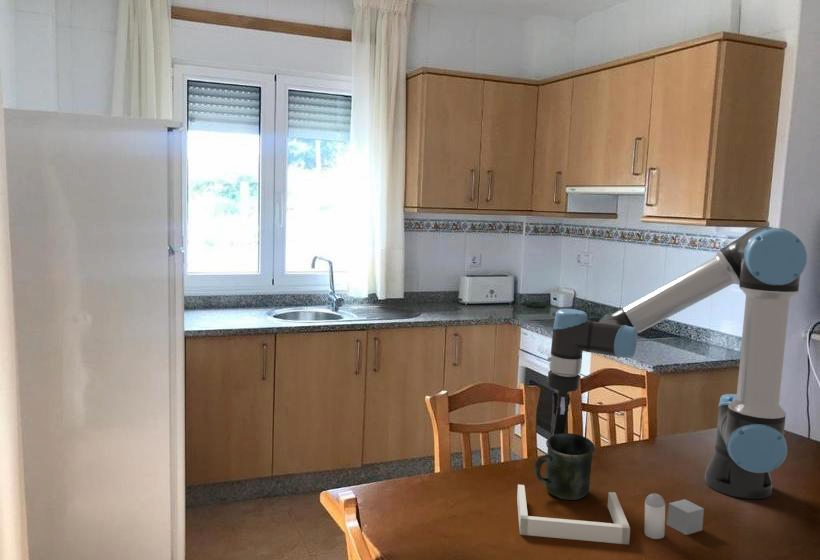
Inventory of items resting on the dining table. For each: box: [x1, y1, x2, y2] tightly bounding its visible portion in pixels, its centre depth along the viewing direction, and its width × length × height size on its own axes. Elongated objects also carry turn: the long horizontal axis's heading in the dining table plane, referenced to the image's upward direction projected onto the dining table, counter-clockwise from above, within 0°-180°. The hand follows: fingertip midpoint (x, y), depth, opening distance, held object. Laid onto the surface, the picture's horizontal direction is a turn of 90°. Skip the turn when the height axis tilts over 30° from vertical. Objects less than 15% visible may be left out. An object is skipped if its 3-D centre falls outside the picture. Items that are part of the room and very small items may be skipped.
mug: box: [534, 432, 596, 501], centre depth 160 cm, size 11×15×12 cm
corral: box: [516, 484, 631, 545], centre depth 148 cm, size 22×17×4 cm
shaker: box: [643, 493, 666, 540], centre depth 142 cm, size 4×4×9 cm
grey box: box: [666, 498, 705, 536], centre depth 147 cm, size 5×5×5 cm
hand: (553, 462), depth 170 cm, fingers closed
